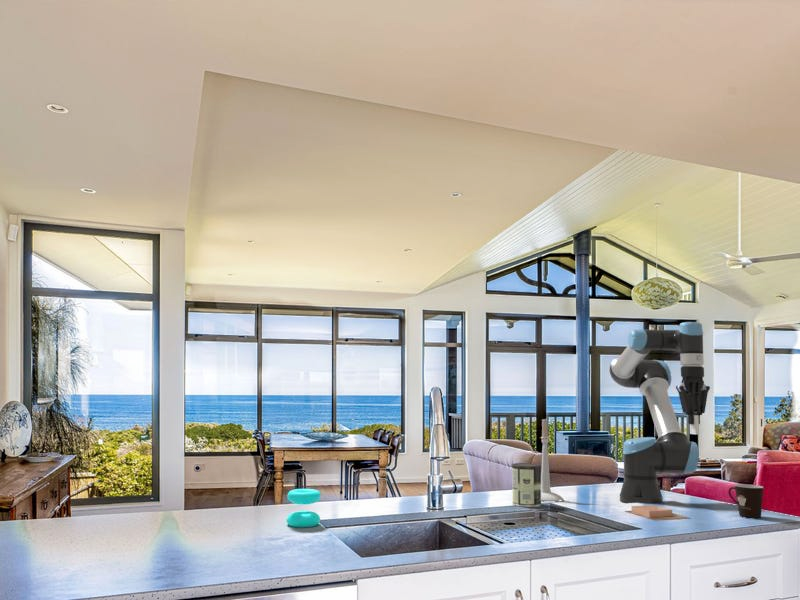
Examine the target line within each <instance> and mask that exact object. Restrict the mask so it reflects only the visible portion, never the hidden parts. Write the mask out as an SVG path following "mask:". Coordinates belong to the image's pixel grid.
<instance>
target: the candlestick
mask: <svg viewBox="0 0 800 600" xmlns="http://www.w3.org/2000/svg"><path fill="white" fill-rule="evenodd" d="M548 426H549V425H548V419H546V418H544V419H541V427H542V429H541V437H539V438H540V439H541V443H542V448H541V449H542V450H541V453H542V454H541V501H559V500H564V498H563V496H561V495H560V494H558V493H556V492H553V491H552V490H551V484H550V483H551V482H550V481H551V479H550V477H551V476H550V465H549V448H548V443H549V441H550V440H549V439H550V437H549V436H548V435H549V434H548V430H549V429H548Z"/></svg>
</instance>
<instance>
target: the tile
mask: <svg viewBox="0 0 800 600" xmlns="http://www.w3.org/2000/svg"><path fill="white" fill-rule="evenodd" d="M631 511H632V513H636V514H639V515H642V516H646V517H649V518H650V517H667V516H672V513H673V509H671V508H666V507H663V506H659V505H654V504H649V505H648V504H647V505H631Z"/></svg>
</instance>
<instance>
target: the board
mask: <svg viewBox="0 0 800 600" xmlns="http://www.w3.org/2000/svg"><path fill="white" fill-rule="evenodd" d="M623 512H625V513H628V514H631V515H635V516H639V517H641V518H645V519H649V520H652V521H656V522H657V521H670V520H688V519H689V520H691V519H692V518H691V517H688V516H684V515H680V514H676V513H673V512H672V516H667V517H650V518H649V517H646V516H642V515H639V514H636V513H632V510H623Z"/></svg>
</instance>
